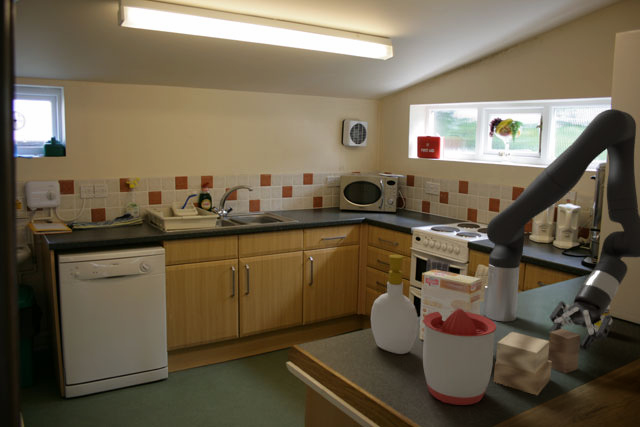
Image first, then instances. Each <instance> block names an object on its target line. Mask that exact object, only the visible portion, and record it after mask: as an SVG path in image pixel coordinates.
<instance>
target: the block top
mask: <svg viewBox="0 0 640 427" xmlns="http://www.w3.org/2000/svg"><path fill="white" fill-rule="evenodd" d="M548 353H549V340H547V339H542V338H540V337H539V338H538V337H534V336H530V335H526V334H522V333H519V332H515V331H511V332H510V333H508V334H507V335H506V336H504V337H503V338H502V339H499V341H497V343H496V359H495V360H496V361H495V363H499V364H503V365H506V366H509V367H513V368H516V369H520V370H523V371H527V372H530V373H534V374H535V373H536V372H537V371H538V370H539V369H540V368H541V367H542V366H543V365H544V364H545V363H546V362H547V361H548Z"/></svg>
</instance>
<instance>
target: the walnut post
mask: <svg viewBox="0 0 640 427" xmlns="http://www.w3.org/2000/svg"><path fill="white" fill-rule="evenodd" d="M548 338H549V340H548V341H549V353H548V360H549V361H552V364H551V369H553V370H556V371H558V372H561V373H562V374H568V373H571V372H573V371H576V370H578V367H579V366H578V365H579V357H580V344H581V334H580V333H579V334H578V333H576V332H574V331H570V330H568V329H565V328H561V329H559V330H556V331H552V332H550V336H549V337H548Z"/></svg>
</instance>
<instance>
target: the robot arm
mask: <svg viewBox="0 0 640 427" xmlns="http://www.w3.org/2000/svg"><path fill="white" fill-rule="evenodd" d="M636 135H637V123H636V121H635V118H634V117H633V115H631V114H630V113H629V112H628V113H627V112H625V111H622V110H619V109H615V108H613V109H612V108H611V109H607V110H604V111H601V112H600V113H598V114H597V115H596V116H594V118H592V120H591V121H590V123H589V124H588V125H587V126H586V127H585V128H584V130H583V131H582V132H581V133H580V135H579V136H578V137H577V138H576V139H575V140H574V141H573V142H572V143H571V145H569V146H568V147H567V148H566V149H565V150H564V151H563V152H562V153H561V154H560V155H558V156H557V158H555V159H554V160H553V161H552V162H551V163H550V164H549V165H547V166H546V167H545V168H544V170H542V171H541V172H540V174H538V175H537V176H536V177H535V179H534V180H533V181H532V182H531V183H530V184H529V185H527V187H526V188H525V189H524V190H523V191H522V192H521V194H519V195H518V197H517V198H516V199H515V200H514V201H513V202H512V203H510V205H508V206H507V207H506V208H505V209H503V210H502V211H501V212H500V213H498V214H497V215H496V216H494V217H493V218H492V219H490V221H489V222H488V225H487V227H486V236H487V238H488V240H489V241H490V242H491V243H492V244H494V247H493V249H492V251H491V252H490V253H489V256H488V272H487V285H485V286H484V291H483V293H484V294H483V306H482V307H483V308H482V316H484V317H486V318H488V319H490V320H492V321H498V322H513V321H515V320H516V319H517V304H518V293H519V292H518V291H519V276H520V264H521V259H522V257H523V254H524V246H525V235H526V234H525V232H526V230H525V226H526V225H527V224H528V223H529V222H530V221H531V220H532V219H533V218H535V217H536V216H538V215H540V214H541V213H543V212H545V211H546V210H547V209H549V208H551V207H552V206H554V205H555V204H557V202H560V200H561V199H562V198H564V197H565V196H566V195H567V194H568V193H569V192H570V191H571V190H573V188H575V186H577V184H578V183H579V181H580V180H581V179H582V177H583V176H584V174H585V172H586V171H587V169H588V167H589V166H590V165H591V164H592V162H594V160H595V159H596V158H597V157H599V156H600V155H601V154H602V153H603V152H605V151H607V156H608V174H607V176H608V177H607V180H606V181H607V184H606V203H607V212H608V213H607V214H608V218H609V220H610V221H611V222H613V223H617V224H620V225H621V227H622V229H623V231H622V230H619V231H613V232H611V233H609V234H608V235H607V236H606V237H605V238H604V240H603V242H602V246H601V252H600V254H599V258H598V259H599V260H598V262H597V264H596V265H595V267H594V268H593V270H592V271H591V273H590V274H589V276H587V278H586V279H585V281H584V282H583V283H582V286H581V288H580V289H579V291H578V292H577V293H576V296H575V297H574V301H573V302H572V304H570V305H569V304H567V303H565V301H563V300H561V301H559V303H558V304H557V306H556V307H555V308H554V310H553V311H552V312H551V314H550V315H549V320H550V321H551V322H552V323H553V324H552V326H551V327H550V329H549V331H548V335H549V337H550V332H552V331H556V330H559V329H563V327H566V326H571V325H575V326H580V327H582V328H584V329H586V328H587V332H588V334H587V333H586V334H585V336H584V338H583V340H582V342H580V346H579V349H581V351H583V352H587V350H590V349H591V347H592V345H593V344H594V342H595V341H596V340H601V341H605V340H606V338H607V336H608V334H609V332H610V330H611V328H612V326H613V325H614V320H613V318H612V316H611V315H610V314H609V315H606V316H603V314H604V313H605V311H606V309H607V308H608V306H610V304H611V302H612V301H613V299H614V298H615V295H616V294H617V292H618V289H619V288H620V287H619V286H620V285H621V283H622V282H623V280H624V278H625V276H626V275H627V272H628V265H627V264H626V262H625V261H624V260H622V259H623V258H640V214H639V206H638V205H639V204H638V195H637V189H636V188H637V187H636V179H635V178H636V177H635V175H636V174H635V148H636ZM599 321H601V322H602V323H601V325H600V327H599V329H598V331H597V332H596V328H595V323H597V322H599Z"/></svg>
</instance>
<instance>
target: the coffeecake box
mask: <svg viewBox="0 0 640 427" xmlns="http://www.w3.org/2000/svg"><path fill="white" fill-rule="evenodd" d="M482 279H483V278H480V277H475V276H469V275H465V274H460V273H456V272H455V273H454V272H451V271H444V270H439V269H431V270H428V271H425V272H422V274H421V292H420V296H421V297H420V315H419V316H420V320H419V321H420V322H419V340H422V341H424V321H423V319H424V317H425V316H426V315H428V314H430V313H433V312H439V313H440V314H441V315H442V320H443V321H445V320H446V319H447V318H448V317H449V316H450V315H451V314H452V313H453V312H454V311H456V310H457V309H462V310H463V311H464V312H469V313H474V314H478V315H481V305H482V303H481V302H482V287H483V286H482V285H483V284H482V283H483V280H482Z"/></svg>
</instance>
